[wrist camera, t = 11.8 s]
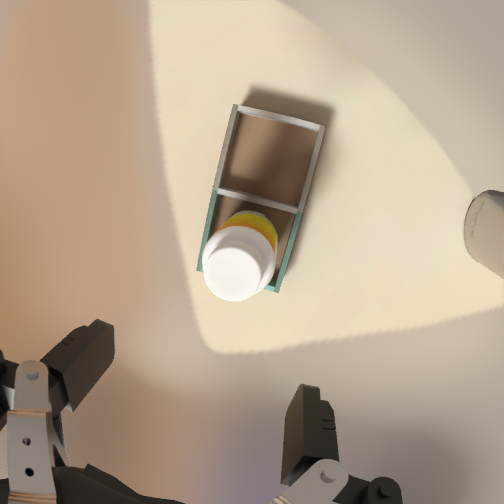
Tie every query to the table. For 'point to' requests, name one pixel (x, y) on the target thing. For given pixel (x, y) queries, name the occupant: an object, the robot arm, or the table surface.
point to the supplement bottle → (241, 256)
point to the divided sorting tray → (264, 176)
